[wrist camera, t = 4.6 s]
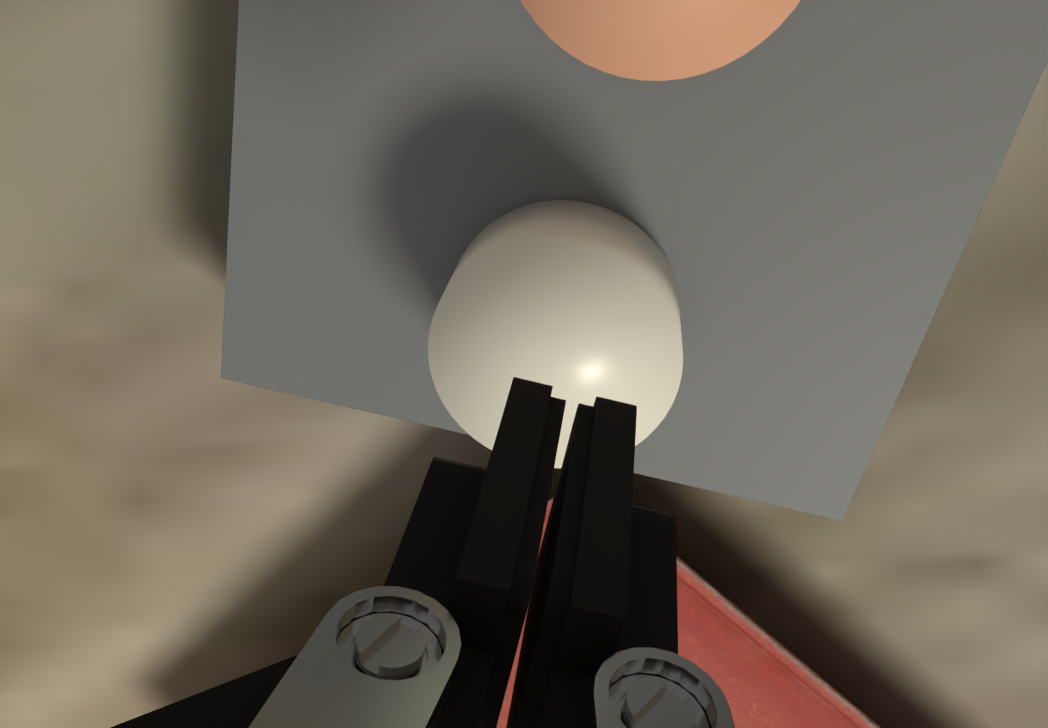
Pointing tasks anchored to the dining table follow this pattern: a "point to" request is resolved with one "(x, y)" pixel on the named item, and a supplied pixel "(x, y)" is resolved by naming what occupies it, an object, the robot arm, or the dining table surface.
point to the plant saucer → (743, 664)
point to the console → (626, 206)
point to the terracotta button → (658, 33)
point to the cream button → (558, 319)
